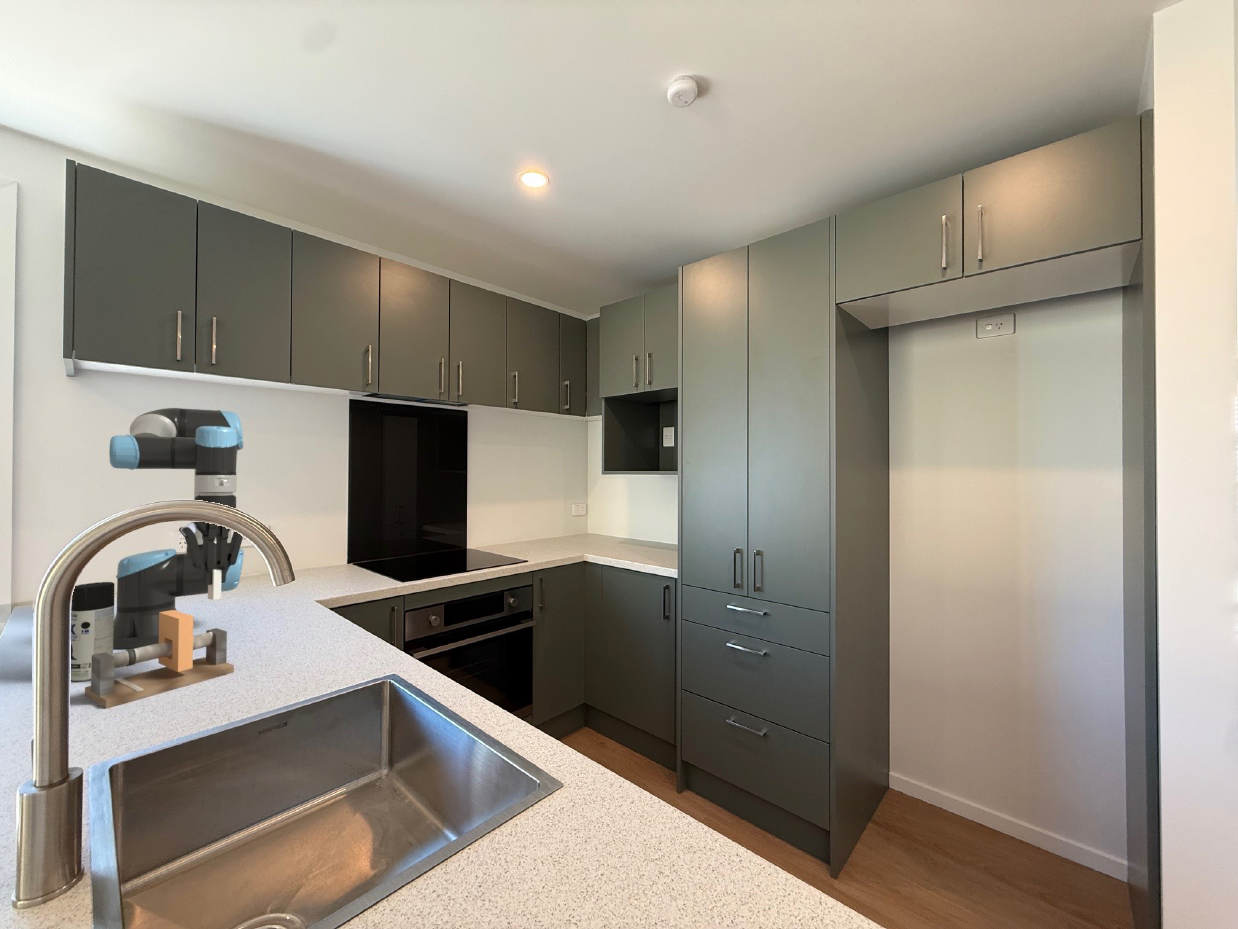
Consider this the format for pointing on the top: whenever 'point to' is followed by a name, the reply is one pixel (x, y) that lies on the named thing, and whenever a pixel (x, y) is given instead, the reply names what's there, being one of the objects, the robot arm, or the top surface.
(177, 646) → the collar
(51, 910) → the top surface
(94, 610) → the spray can
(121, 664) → the pipe stand
